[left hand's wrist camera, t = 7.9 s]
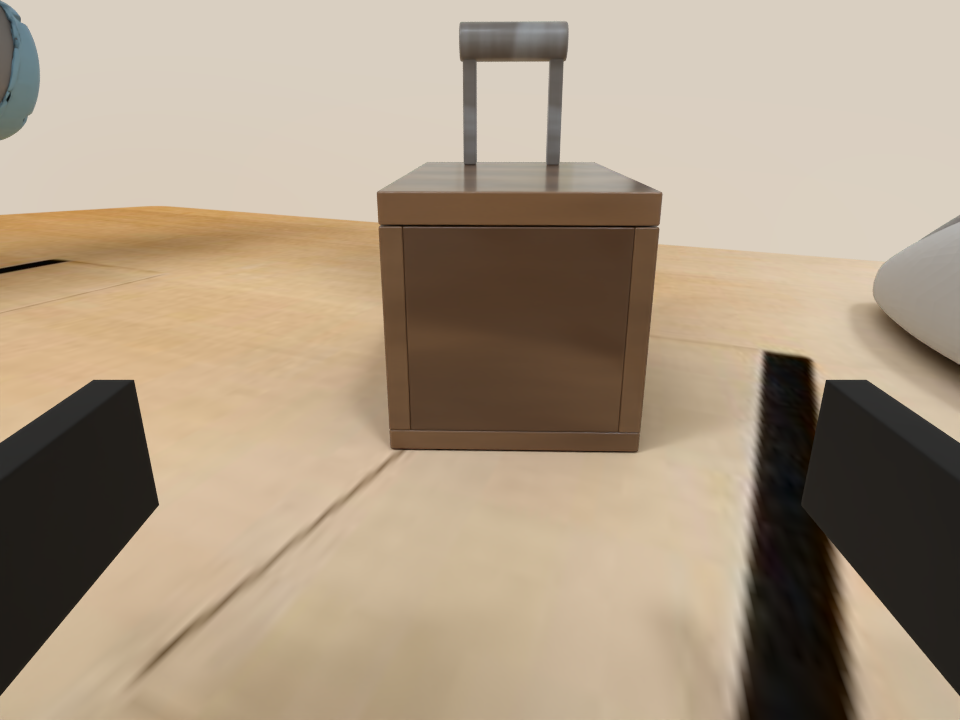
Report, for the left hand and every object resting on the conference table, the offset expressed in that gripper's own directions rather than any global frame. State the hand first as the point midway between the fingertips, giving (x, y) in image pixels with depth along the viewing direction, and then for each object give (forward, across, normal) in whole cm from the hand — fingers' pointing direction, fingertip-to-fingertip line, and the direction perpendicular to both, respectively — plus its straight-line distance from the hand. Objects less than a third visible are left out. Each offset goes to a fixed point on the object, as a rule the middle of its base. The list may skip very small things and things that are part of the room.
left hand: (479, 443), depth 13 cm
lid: (+20, +2, +2) cm, 21 cm away
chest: (+20, +2, -7) cm, 21 cm away
